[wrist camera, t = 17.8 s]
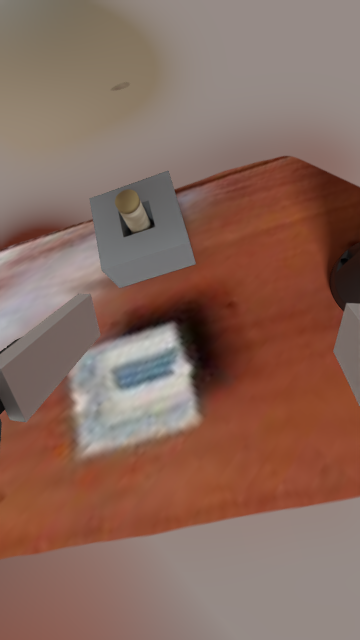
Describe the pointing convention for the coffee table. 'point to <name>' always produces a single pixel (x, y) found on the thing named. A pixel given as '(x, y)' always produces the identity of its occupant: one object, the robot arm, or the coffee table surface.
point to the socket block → (142, 234)
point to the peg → (132, 211)
